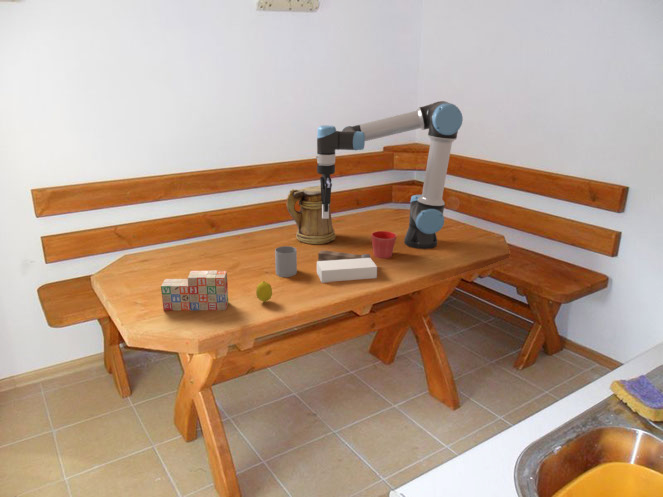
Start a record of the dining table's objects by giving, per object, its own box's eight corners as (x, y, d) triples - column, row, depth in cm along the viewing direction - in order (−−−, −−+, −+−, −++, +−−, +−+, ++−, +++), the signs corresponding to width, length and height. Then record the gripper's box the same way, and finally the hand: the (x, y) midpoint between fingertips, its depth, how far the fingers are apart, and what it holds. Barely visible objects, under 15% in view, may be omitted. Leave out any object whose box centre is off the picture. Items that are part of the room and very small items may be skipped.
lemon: (257, 299, 191) (256, 278, 188) (272, 298, 191) (271, 278, 188) (256, 305, 186) (255, 284, 183) (272, 305, 186) (271, 284, 183)
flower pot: (397, 253, 237) (398, 232, 233) (391, 261, 227) (393, 239, 224) (374, 250, 240) (375, 229, 237) (367, 258, 230) (368, 237, 227)
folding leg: (371, 265, 222) (371, 254, 220) (368, 268, 218) (369, 257, 216) (321, 258, 228) (321, 248, 226) (318, 262, 224) (318, 251, 223)
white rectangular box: (369, 269, 218) (370, 257, 217) (376, 278, 209) (377, 266, 208) (316, 272, 214) (316, 261, 212) (321, 282, 205) (321, 270, 203)
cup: (293, 278, 209) (293, 254, 205) (273, 276, 210) (272, 252, 207) (298, 270, 217) (298, 247, 213) (279, 268, 218) (278, 245, 215)
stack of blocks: (163, 311, 181) (159, 277, 177) (167, 303, 187) (164, 270, 183) (226, 310, 182) (224, 277, 178) (229, 302, 188) (227, 270, 184)
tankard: (342, 241, 250) (343, 189, 241) (295, 248, 240) (294, 194, 232) (325, 230, 265) (325, 181, 257) (281, 237, 256) (279, 185, 247)
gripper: (314, 161, 228) (314, 214, 236) (320, 167, 216) (319, 223, 224) (331, 160, 229) (330, 213, 237) (338, 166, 217) (337, 222, 225)
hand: (325, 218), depth 230 cm, fingers closed
